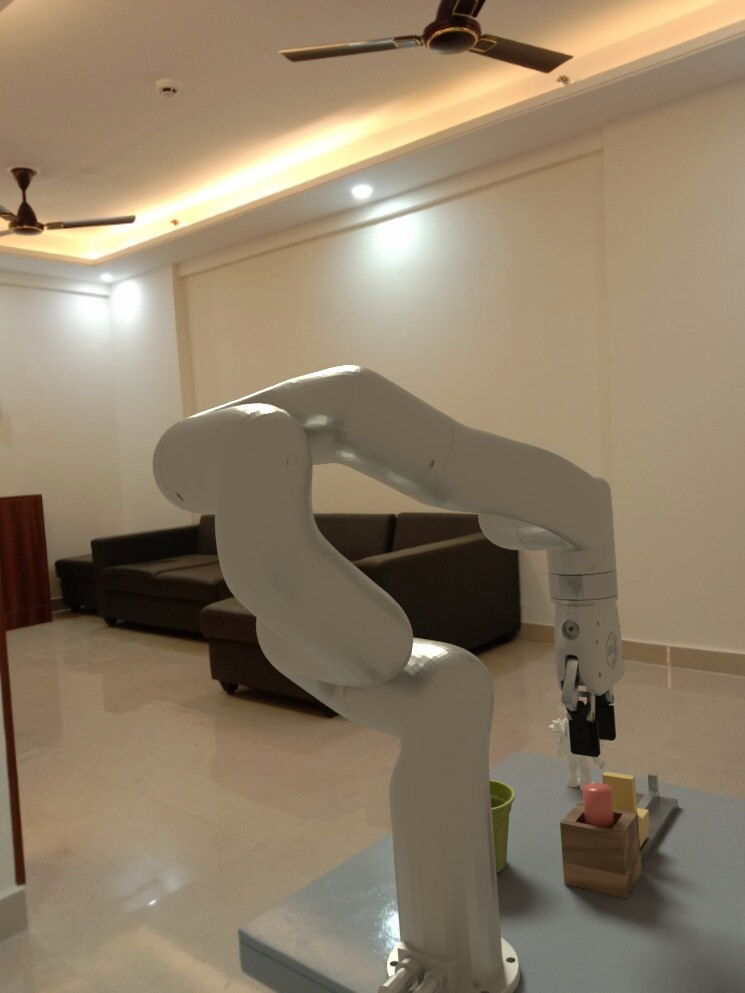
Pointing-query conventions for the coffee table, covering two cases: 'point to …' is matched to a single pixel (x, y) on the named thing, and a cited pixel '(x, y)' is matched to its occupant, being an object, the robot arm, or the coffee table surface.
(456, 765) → the robot arm
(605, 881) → the wooden box
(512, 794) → the plant pot
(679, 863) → the coffee table surface
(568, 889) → the coffee table surface
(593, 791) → the plunger
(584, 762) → the flower shoulder figurine
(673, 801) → the rail
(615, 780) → the carriage
